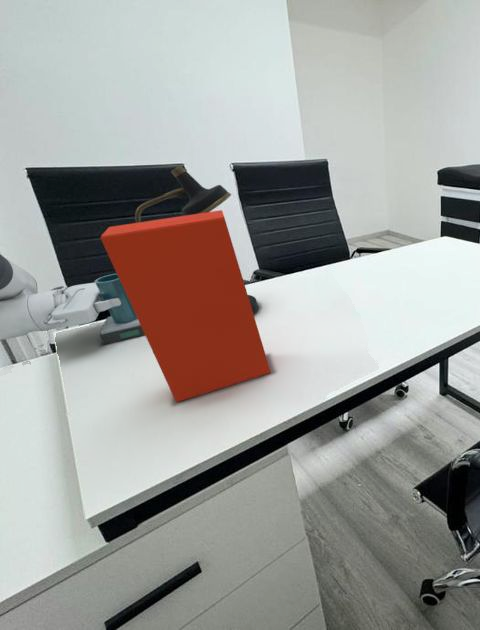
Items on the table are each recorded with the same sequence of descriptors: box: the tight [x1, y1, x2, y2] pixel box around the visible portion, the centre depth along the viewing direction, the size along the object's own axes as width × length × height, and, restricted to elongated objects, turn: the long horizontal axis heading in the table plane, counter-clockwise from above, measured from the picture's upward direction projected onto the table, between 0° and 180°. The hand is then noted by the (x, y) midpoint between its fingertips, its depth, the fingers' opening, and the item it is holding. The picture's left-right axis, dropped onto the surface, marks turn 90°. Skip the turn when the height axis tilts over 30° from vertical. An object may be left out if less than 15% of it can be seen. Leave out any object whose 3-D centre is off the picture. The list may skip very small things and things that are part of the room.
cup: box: [93, 273, 137, 323], centre depth 97 cm, size 6×6×11 cm
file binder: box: [100, 209, 272, 403], centre depth 72 cm, size 8×17×32 cm, turn 118°
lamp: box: [134, 165, 260, 316], centre depth 97 cm, size 16×22×38 cm
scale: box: [99, 316, 145, 346], centre depth 101 cm, size 12×11×4 cm
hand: (123, 295), depth 98 cm, fingers closed on cup, 6 cm apart
